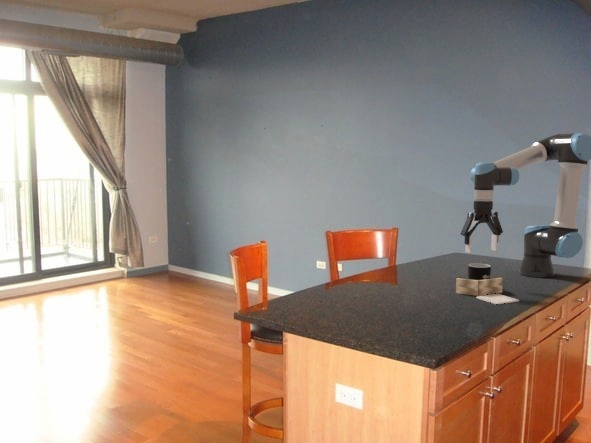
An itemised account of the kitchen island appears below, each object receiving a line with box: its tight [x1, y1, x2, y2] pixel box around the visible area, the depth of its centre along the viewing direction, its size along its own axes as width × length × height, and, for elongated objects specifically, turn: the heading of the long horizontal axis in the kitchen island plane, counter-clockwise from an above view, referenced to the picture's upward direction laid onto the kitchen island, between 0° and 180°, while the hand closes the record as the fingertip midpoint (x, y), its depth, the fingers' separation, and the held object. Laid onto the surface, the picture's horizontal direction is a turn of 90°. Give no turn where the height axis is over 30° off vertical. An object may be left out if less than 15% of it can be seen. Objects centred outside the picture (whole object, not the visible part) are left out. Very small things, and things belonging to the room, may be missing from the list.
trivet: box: [476, 293, 520, 305], centre depth 221 cm, size 11×11×1 cm
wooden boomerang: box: [455, 277, 504, 297], centre depth 232 cm, size 18×8×6 cm, turn 114°
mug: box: [467, 262, 492, 280], centre depth 239 cm, size 12×9×10 cm
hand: (481, 251), depth 238 cm, fingers open, 13 cm apart
